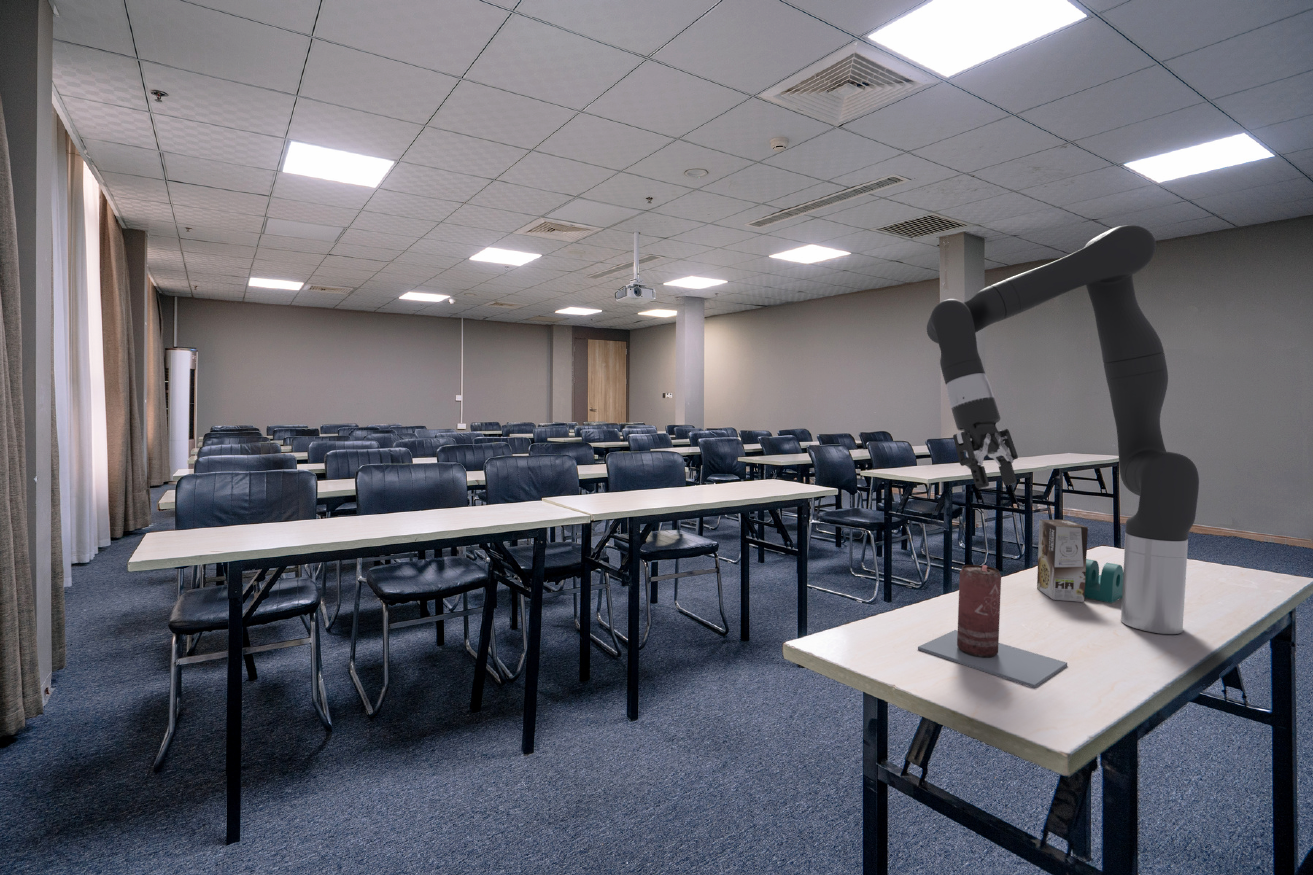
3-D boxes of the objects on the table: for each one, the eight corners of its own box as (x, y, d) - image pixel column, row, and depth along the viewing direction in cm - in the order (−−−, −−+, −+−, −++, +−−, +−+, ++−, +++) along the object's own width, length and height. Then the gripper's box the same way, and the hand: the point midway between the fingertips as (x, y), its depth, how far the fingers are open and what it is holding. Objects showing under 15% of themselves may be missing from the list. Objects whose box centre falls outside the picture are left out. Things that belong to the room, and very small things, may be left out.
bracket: (1111, 604, 132) (1113, 567, 132) (1075, 596, 137) (1077, 560, 137) (1138, 589, 143) (1140, 555, 143) (1103, 582, 148) (1105, 549, 148)
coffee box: (1085, 602, 132) (1089, 527, 131) (1052, 600, 133) (1055, 525, 132) (1066, 590, 141) (1070, 519, 140) (1035, 588, 142) (1038, 518, 141)
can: (999, 648, 105) (1002, 566, 104) (997, 661, 100) (1000, 575, 99) (959, 640, 108) (962, 561, 107) (955, 653, 103) (958, 569, 102)
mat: (954, 632, 114) (955, 629, 114) (1067, 665, 100) (1067, 662, 100) (917, 649, 106) (917, 646, 106) (1034, 688, 92) (1034, 684, 92)
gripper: (966, 395, 111) (993, 484, 108) (1012, 395, 118) (1039, 478, 115) (931, 409, 118) (955, 493, 114) (977, 408, 125) (1001, 487, 121)
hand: (997, 485), depth 114 cm, fingers open, 8 cm apart
